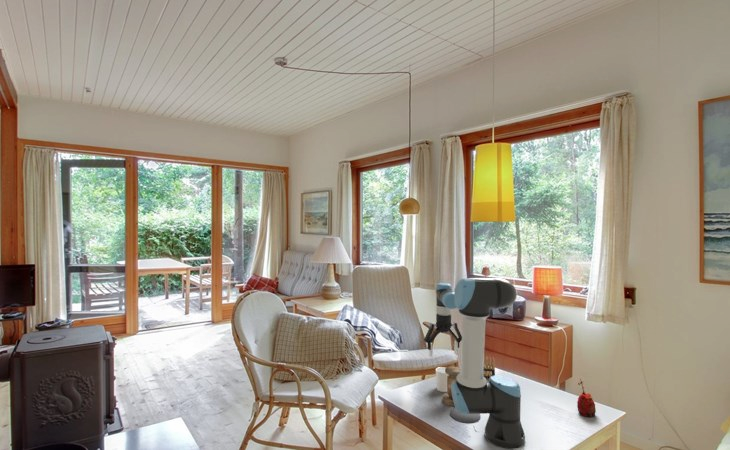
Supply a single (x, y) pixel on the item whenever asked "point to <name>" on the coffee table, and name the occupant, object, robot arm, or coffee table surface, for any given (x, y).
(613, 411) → the coffee table surface
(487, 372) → the ammunition clip
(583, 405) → the red bumpy oval
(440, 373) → the white cup
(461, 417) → the pad
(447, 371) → the doorknob
